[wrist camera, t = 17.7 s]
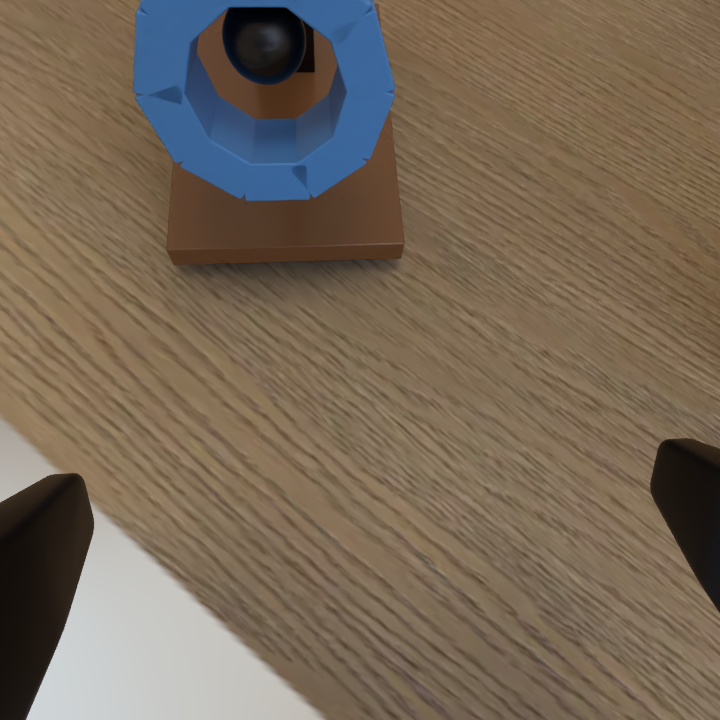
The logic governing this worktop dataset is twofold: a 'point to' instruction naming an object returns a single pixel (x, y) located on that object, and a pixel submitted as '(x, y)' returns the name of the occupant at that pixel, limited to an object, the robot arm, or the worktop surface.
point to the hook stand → (281, 101)
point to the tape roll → (263, 136)
